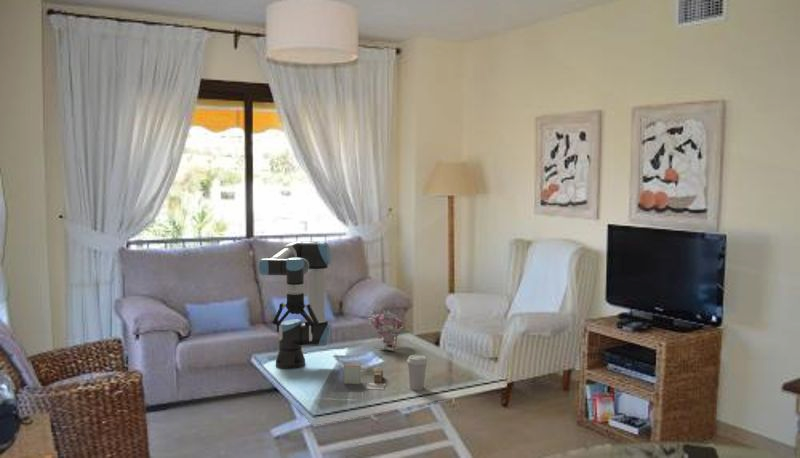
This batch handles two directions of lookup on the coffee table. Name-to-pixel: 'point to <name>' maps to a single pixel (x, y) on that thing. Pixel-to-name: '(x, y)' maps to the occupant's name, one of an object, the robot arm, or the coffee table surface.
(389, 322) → the flower
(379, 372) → the tapered wooden block
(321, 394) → the coffee table surface
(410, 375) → the coffee cup
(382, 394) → the coffee table surface
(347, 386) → the mat
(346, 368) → the tile
